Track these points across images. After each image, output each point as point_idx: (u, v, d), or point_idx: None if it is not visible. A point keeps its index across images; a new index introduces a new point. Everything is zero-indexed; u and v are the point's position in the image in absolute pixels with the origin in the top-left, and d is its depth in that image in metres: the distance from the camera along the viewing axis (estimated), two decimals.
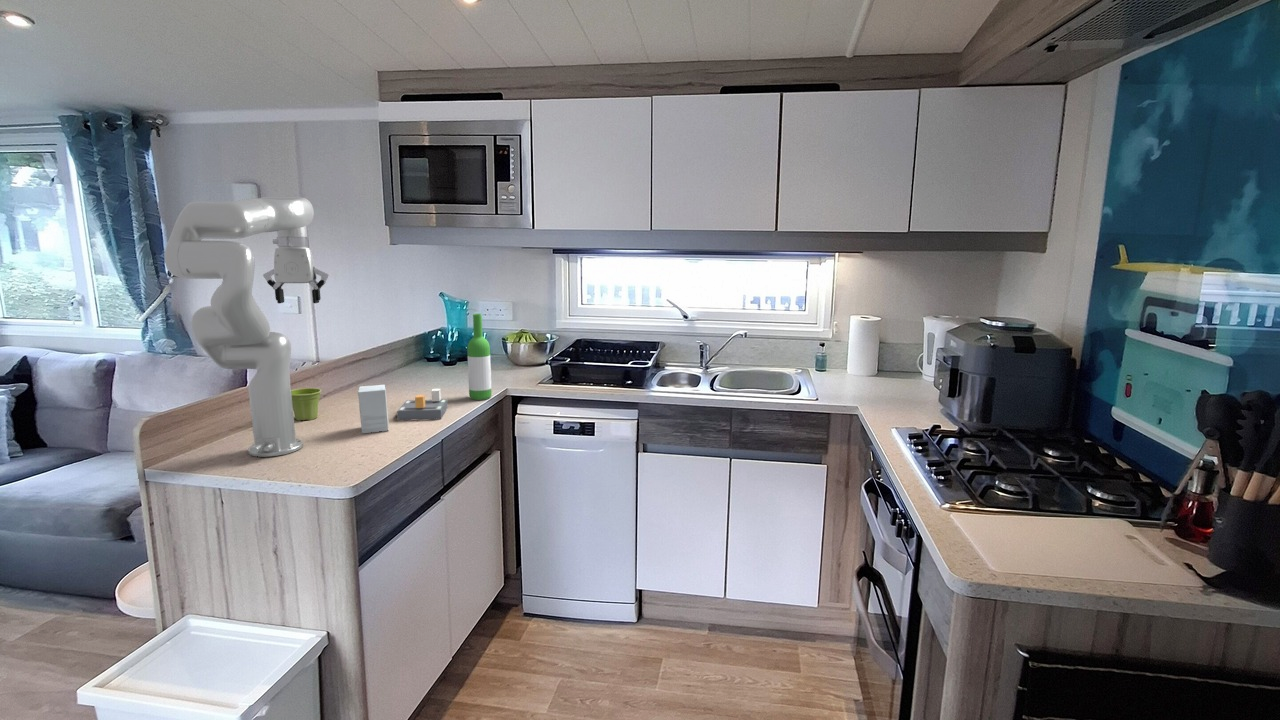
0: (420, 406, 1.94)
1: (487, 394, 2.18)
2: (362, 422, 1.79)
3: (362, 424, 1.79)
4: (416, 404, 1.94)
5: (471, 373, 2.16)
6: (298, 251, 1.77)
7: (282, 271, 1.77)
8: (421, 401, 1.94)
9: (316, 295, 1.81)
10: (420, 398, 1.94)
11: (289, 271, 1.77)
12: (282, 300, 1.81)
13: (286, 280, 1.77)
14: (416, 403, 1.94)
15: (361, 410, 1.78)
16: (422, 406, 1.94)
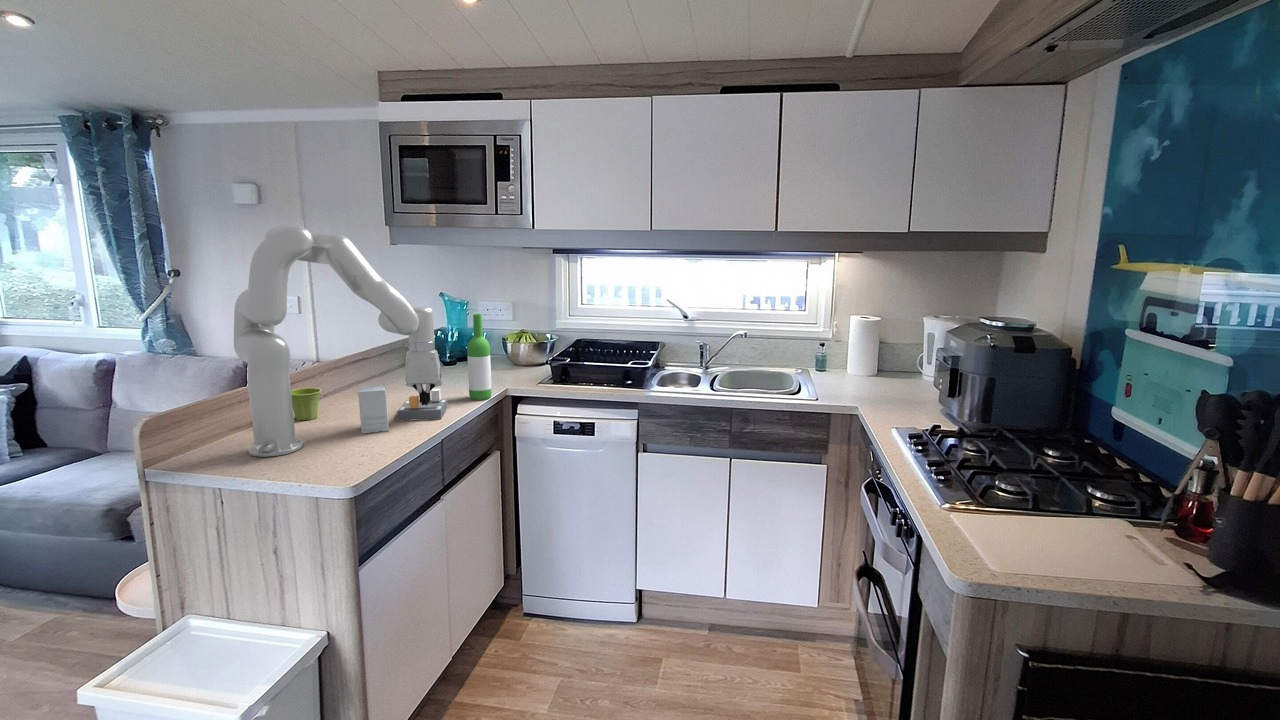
0: (414, 406, 1.94)
1: (487, 394, 2.18)
2: (362, 422, 1.79)
3: (362, 424, 1.79)
4: (410, 404, 1.94)
5: (471, 373, 2.16)
6: (428, 355, 1.90)
7: (413, 373, 1.91)
8: (415, 401, 1.94)
9: (427, 397, 1.94)
10: (414, 398, 1.93)
11: (419, 373, 1.91)
12: None
13: (416, 381, 1.91)
14: (410, 403, 1.93)
15: (361, 410, 1.78)
16: (416, 406, 1.94)
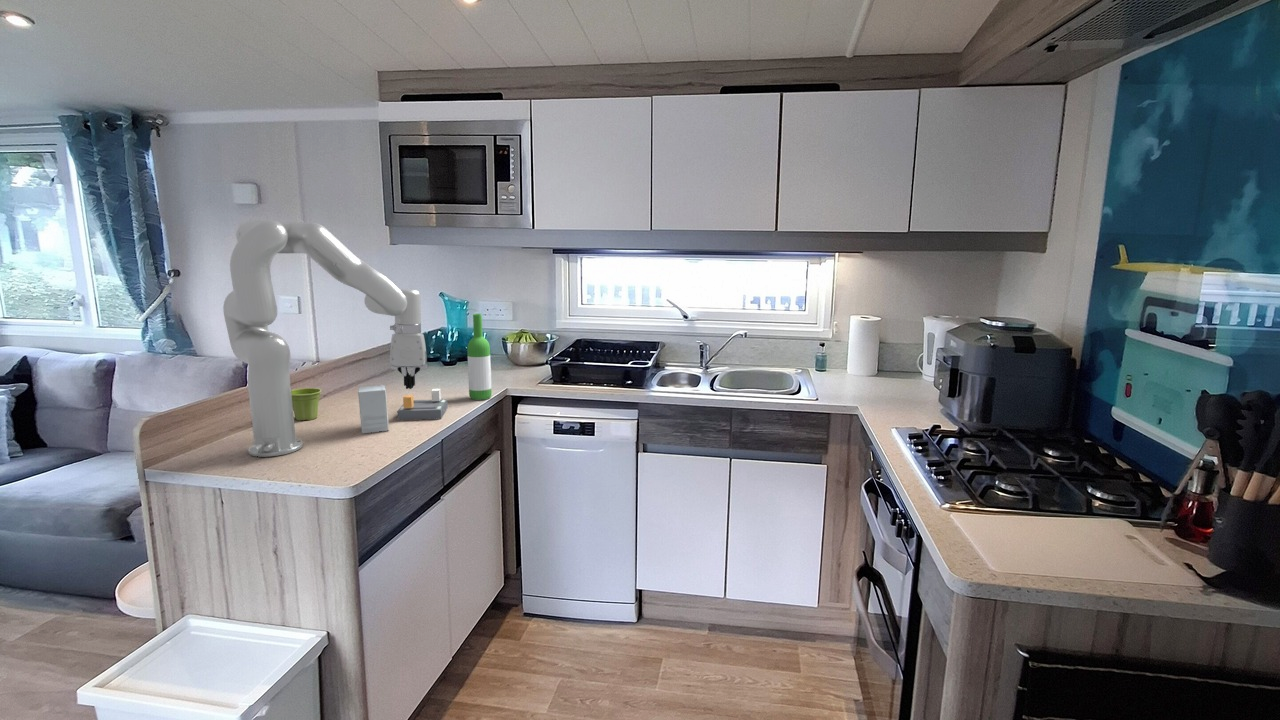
0: (408, 406, 1.94)
1: (487, 394, 2.18)
2: (362, 422, 1.79)
3: (362, 424, 1.79)
4: (404, 404, 1.93)
5: (471, 373, 2.16)
6: (413, 337, 1.89)
7: (398, 356, 1.89)
8: (409, 401, 1.93)
9: (412, 381, 1.92)
10: (408, 398, 1.93)
11: (404, 356, 1.89)
12: None
13: (401, 364, 1.89)
14: (404, 403, 1.93)
15: (361, 410, 1.78)
16: (410, 406, 1.94)
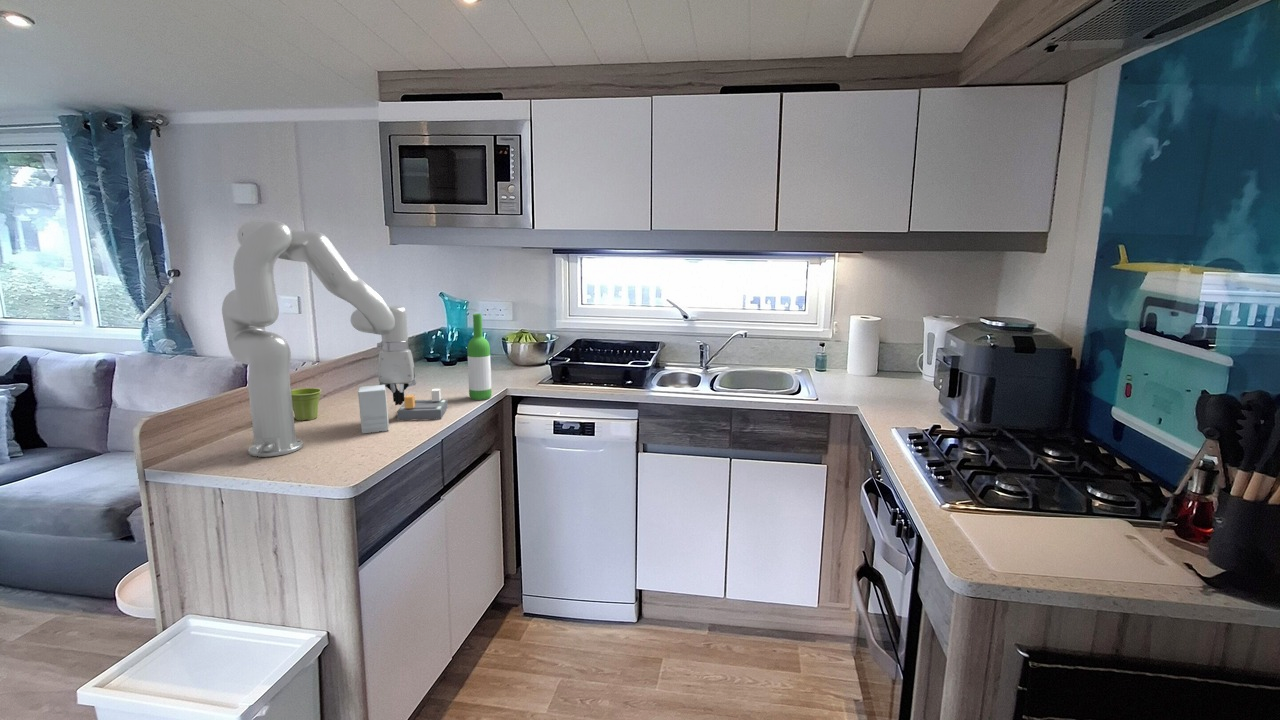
0: (409, 406, 1.94)
1: (487, 394, 2.18)
2: (362, 422, 1.79)
3: (362, 424, 1.79)
4: (405, 404, 1.93)
5: (471, 373, 2.16)
6: (401, 354, 1.89)
7: (386, 373, 1.89)
8: (410, 401, 1.93)
9: (401, 397, 1.93)
10: (409, 398, 1.93)
11: (392, 373, 1.90)
12: None
13: (390, 381, 1.90)
14: (405, 403, 1.93)
15: (361, 410, 1.78)
16: (411, 406, 1.94)
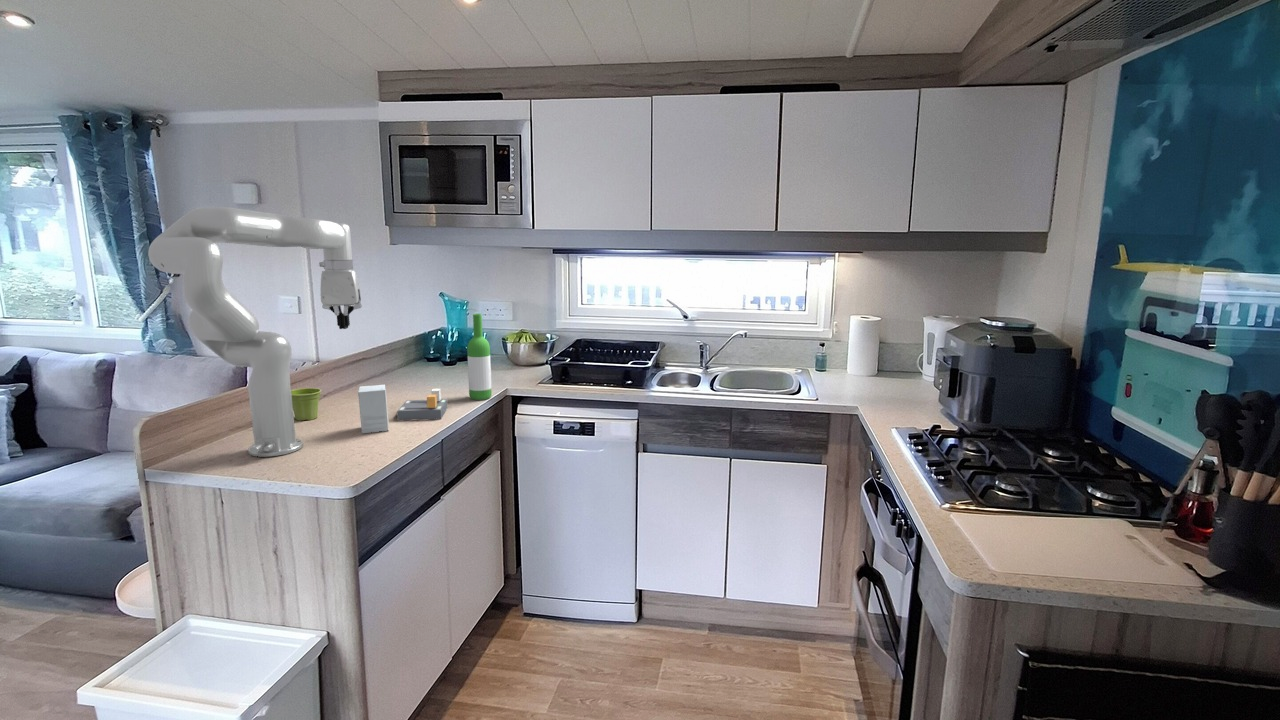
0: (432, 406, 1.95)
1: (487, 394, 2.18)
2: (362, 422, 1.79)
3: (362, 424, 1.79)
4: (428, 404, 1.94)
5: (471, 373, 2.16)
6: (344, 274, 1.80)
7: (328, 293, 1.80)
8: (433, 401, 1.94)
9: (345, 321, 1.84)
10: (432, 398, 1.94)
11: (335, 293, 1.80)
12: None
13: (333, 302, 1.80)
14: (428, 403, 1.94)
15: (361, 410, 1.78)
16: (434, 406, 1.95)
